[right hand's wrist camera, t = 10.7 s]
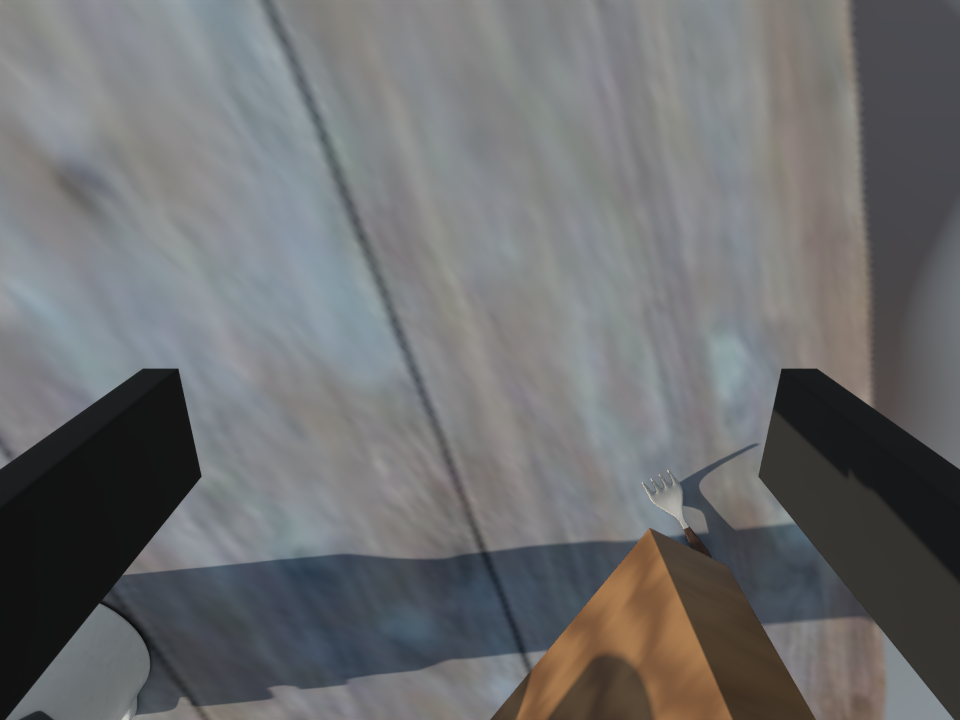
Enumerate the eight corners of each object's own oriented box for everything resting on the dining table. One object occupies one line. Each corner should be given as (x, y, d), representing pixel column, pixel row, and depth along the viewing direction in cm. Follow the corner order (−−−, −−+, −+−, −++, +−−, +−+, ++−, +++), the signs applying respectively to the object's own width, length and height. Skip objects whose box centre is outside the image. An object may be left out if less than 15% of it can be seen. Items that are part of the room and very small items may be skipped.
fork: (712, 601, 50) (721, 620, 48) (633, 470, 45) (639, 484, 43) (740, 589, 49) (751, 607, 48) (663, 454, 44) (671, 469, 42)
